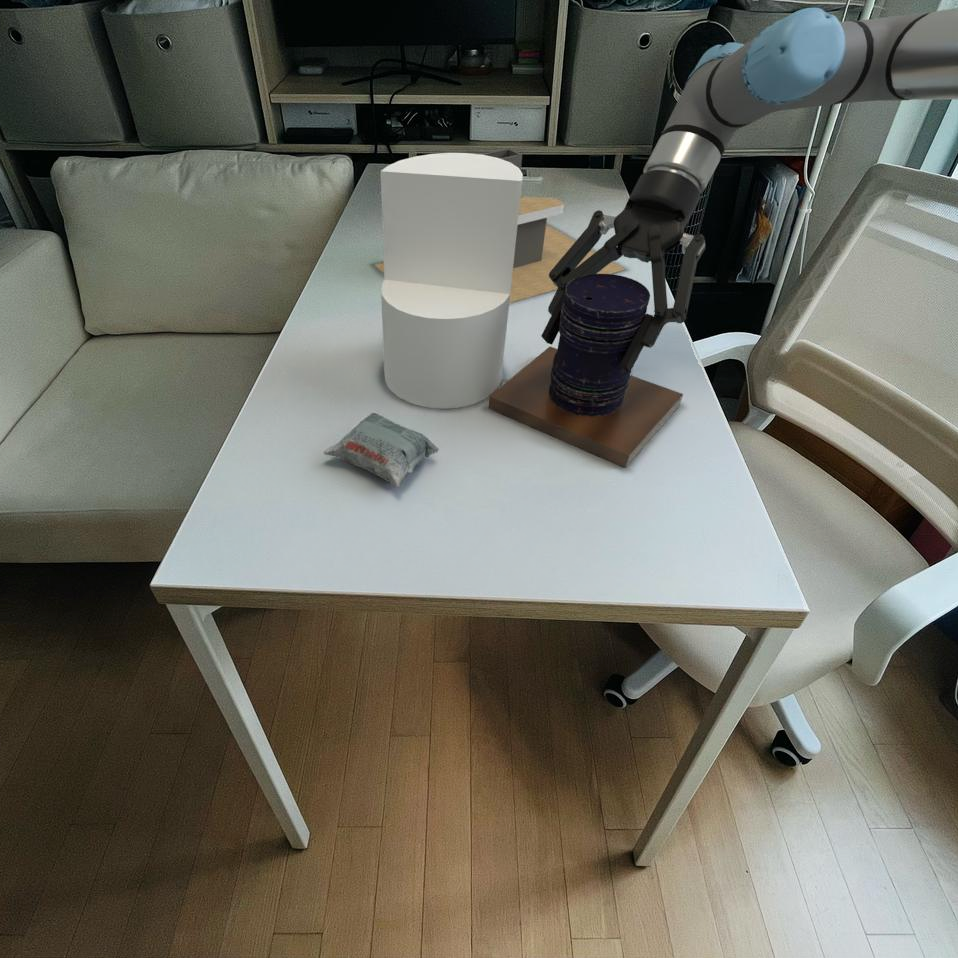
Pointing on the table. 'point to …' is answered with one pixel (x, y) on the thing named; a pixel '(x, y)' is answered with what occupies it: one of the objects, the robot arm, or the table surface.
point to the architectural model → (536, 242)
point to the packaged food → (383, 448)
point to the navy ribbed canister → (596, 343)
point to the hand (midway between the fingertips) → (584, 354)
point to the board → (599, 435)
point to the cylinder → (447, 275)
